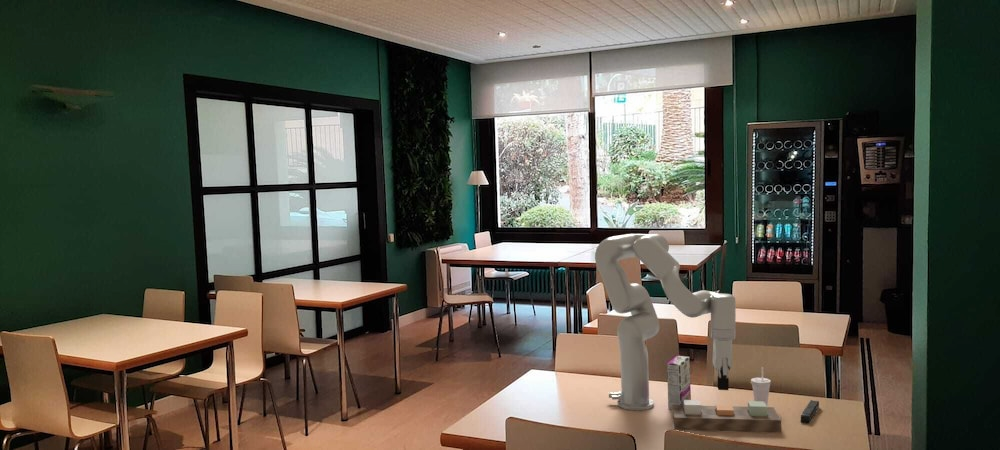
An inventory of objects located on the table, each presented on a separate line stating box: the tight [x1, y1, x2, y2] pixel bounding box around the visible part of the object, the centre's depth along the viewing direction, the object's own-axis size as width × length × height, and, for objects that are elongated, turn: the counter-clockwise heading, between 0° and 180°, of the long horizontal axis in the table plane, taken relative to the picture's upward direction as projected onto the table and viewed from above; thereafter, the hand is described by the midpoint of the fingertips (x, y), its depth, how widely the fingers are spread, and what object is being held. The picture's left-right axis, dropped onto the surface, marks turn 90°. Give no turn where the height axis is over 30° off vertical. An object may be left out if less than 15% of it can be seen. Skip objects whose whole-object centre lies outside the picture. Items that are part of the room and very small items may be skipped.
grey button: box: [684, 399, 702, 415], centre depth 226 cm, size 5×5×4 cm
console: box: [671, 405, 783, 434], centre depth 224 cm, size 32×12×4 cm, turn 79°
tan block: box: [715, 404, 734, 416], centre depth 224 cm, size 5×5×4 cm
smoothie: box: [750, 367, 772, 407], centre depth 238 cm, size 6×6×14 cm
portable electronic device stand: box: [800, 399, 820, 425], centre depth 229 cm, size 18×3×3 cm, turn 146°
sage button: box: [747, 400, 768, 416], centre depth 222 cm, size 5×5×4 cm
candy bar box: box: [666, 355, 692, 411], centre depth 243 cm, size 11×5×16 cm, turn 148°
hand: (723, 389), depth 224 cm, fingers closed
